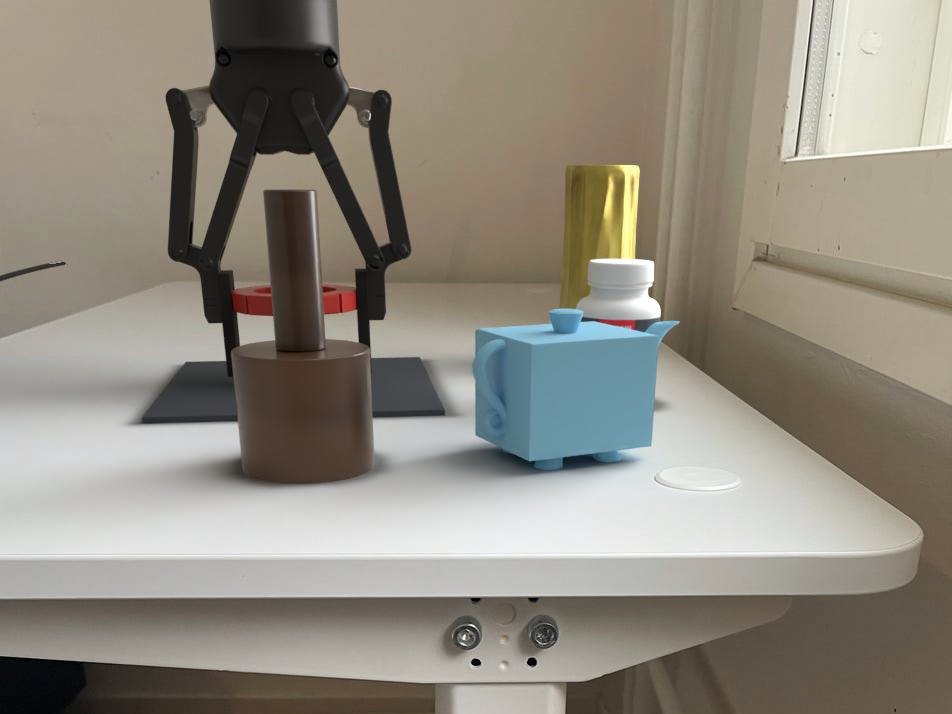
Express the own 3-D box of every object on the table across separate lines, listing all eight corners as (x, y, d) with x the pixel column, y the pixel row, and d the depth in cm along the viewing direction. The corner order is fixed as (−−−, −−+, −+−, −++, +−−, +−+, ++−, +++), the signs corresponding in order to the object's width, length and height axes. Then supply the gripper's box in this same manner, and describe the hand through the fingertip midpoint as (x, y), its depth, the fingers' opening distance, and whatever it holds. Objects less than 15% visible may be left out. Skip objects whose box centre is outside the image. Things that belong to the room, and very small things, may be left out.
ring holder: (248, 456, 54) (222, 189, 49) (372, 452, 55) (361, 188, 50) (237, 490, 48) (207, 190, 43) (377, 485, 49) (364, 190, 44)
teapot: (638, 433, 59) (647, 297, 56) (703, 457, 54) (716, 308, 51) (449, 455, 54) (448, 308, 51) (501, 483, 49) (503, 322, 46)
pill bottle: (589, 418, 63) (596, 265, 59) (559, 401, 67) (564, 258, 63) (667, 413, 64) (679, 263, 60) (633, 397, 69) (642, 256, 65)
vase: (593, 379, 75) (603, 164, 69) (536, 368, 79) (541, 165, 73) (649, 370, 78) (663, 165, 72) (592, 360, 82) (601, 165, 76)
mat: (186, 369, 78) (185, 361, 78) (420, 364, 81) (419, 356, 80) (142, 427, 60) (141, 417, 60) (445, 419, 62) (445, 409, 62)
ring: (239, 302, 71) (237, 284, 71) (356, 300, 72) (355, 283, 72) (228, 317, 64) (226, 297, 63) (359, 315, 65) (358, 295, 64)
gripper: (74, -35, 56) (133, 385, 65) (454, -27, 58) (458, 377, 68) (102, -12, 63) (152, 366, 72) (442, -6, 65) (447, 359, 74)
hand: (300, 371), depth 70 cm, fingers closed on ring, 8 cm apart
